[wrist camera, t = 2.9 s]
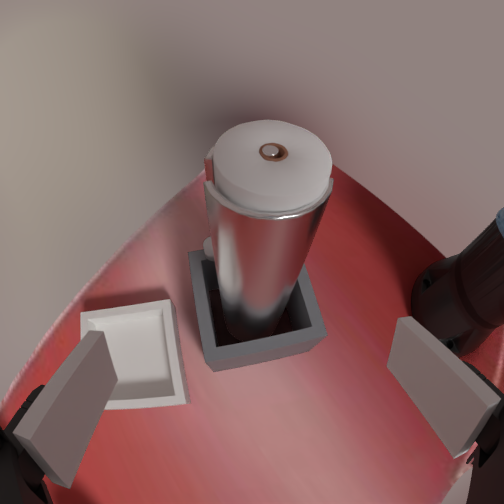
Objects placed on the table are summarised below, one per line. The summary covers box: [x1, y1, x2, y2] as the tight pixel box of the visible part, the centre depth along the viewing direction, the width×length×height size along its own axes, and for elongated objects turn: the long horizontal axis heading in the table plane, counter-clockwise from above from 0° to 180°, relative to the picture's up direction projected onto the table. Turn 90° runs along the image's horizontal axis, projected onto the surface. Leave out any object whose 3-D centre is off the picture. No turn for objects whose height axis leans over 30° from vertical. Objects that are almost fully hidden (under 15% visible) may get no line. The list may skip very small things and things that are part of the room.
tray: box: [81, 299, 191, 410], centre depth 29 cm, size 12×12×3 cm
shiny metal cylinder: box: [203, 120, 334, 342], centre depth 23 cm, size 6×6×25 cm
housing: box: [188, 236, 327, 372], centre depth 30 cm, size 11×12×10 cm
